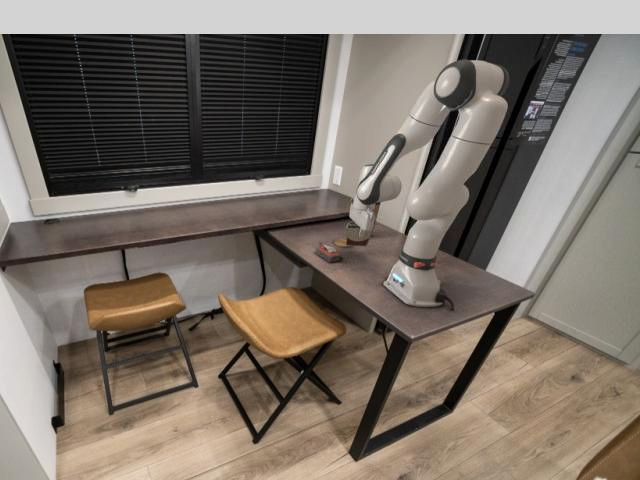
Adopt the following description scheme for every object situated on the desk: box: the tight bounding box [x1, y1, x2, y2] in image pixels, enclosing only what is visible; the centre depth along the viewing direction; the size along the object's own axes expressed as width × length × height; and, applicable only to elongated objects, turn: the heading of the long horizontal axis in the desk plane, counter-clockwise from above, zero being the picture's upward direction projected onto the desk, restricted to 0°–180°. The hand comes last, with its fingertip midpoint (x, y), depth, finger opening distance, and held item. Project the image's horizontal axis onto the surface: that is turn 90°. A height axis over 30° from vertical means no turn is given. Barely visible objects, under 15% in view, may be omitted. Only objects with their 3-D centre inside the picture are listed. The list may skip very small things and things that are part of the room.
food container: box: [345, 220, 375, 247], centre depth 143 cm, size 12×6×10 cm, turn 85°
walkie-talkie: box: [315, 241, 344, 263], centre depth 145 cm, size 9×4×20 cm
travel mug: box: [370, 202, 382, 238], centre depth 161 cm, size 8×8×20 cm
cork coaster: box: [333, 238, 351, 248], centre depth 157 cm, size 9×9×1 cm
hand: (357, 233), depth 142 cm, fingers closed on food container, 5 cm apart
